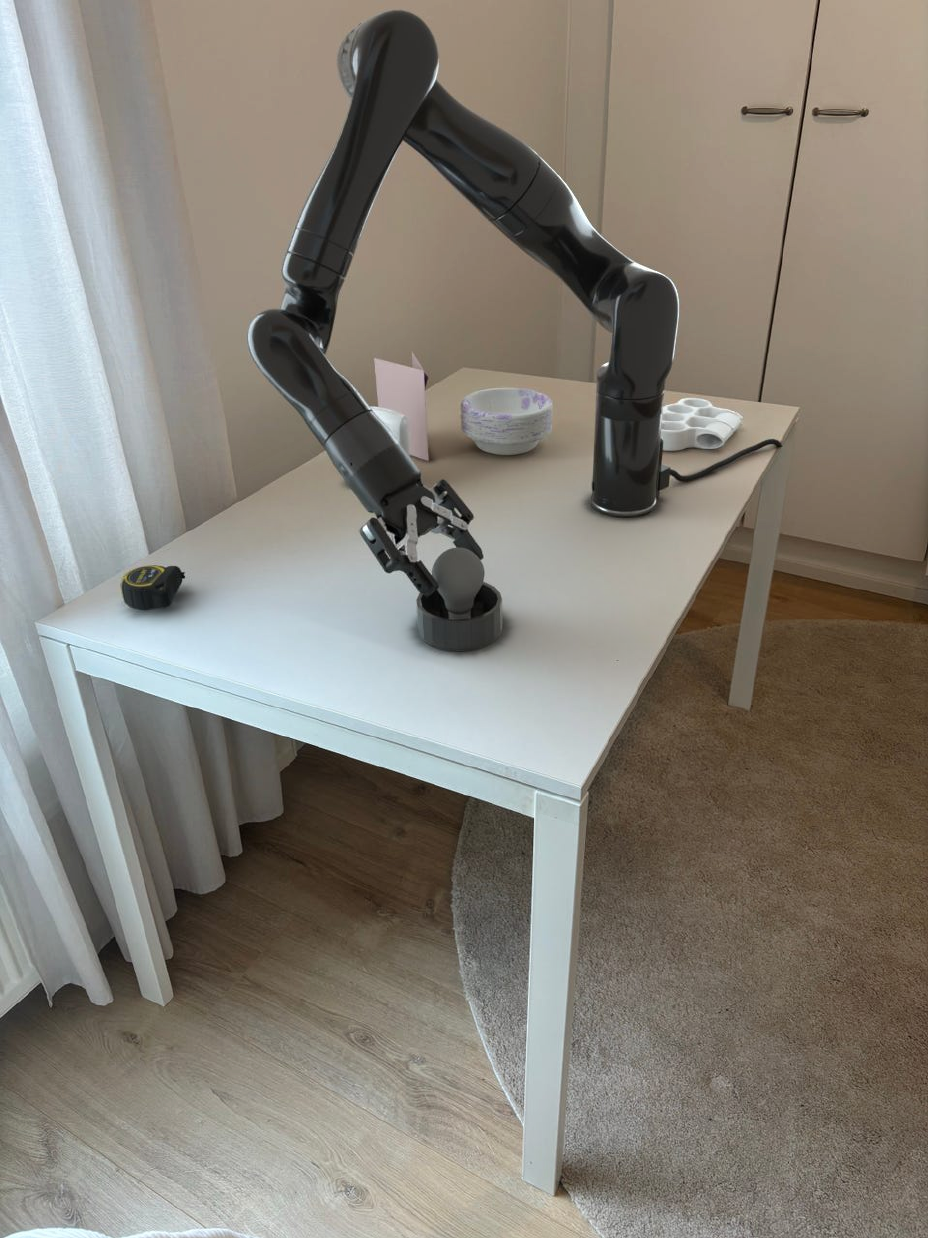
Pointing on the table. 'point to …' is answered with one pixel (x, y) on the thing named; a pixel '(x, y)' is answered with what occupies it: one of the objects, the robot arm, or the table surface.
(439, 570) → the light bulb
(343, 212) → the robot arm
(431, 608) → the dark gray bowl
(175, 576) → the tape measure
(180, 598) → the table surface
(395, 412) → the white upright block
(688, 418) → the white multi-hole holder
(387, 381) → the greeting card
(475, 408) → the paper bowls
